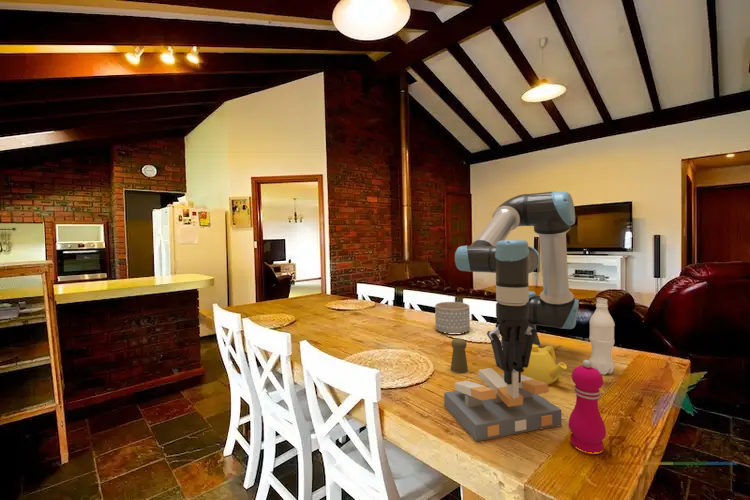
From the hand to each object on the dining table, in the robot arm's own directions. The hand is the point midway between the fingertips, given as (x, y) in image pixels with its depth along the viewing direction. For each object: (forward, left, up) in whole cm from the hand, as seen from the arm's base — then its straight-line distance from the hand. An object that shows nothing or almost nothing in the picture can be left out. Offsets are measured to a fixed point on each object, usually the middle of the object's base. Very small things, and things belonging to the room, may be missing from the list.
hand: (512, 395), depth 85 cm
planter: (-23, -79, -8) cm, 83 cm away
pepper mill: (-11, +11, -8) cm, 18 cm away
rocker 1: (+7, -6, 0) cm, 9 cm away
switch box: (0, -6, -8) cm, 10 cm away
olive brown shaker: (-4, -36, -8) cm, 37 cm away
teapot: (-25, -21, -8) cm, 34 cm away
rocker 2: (0, -6, 0) cm, 6 cm away
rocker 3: (-8, -6, 0) cm, 10 cm away
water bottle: (-49, -20, -8) cm, 54 cm away
